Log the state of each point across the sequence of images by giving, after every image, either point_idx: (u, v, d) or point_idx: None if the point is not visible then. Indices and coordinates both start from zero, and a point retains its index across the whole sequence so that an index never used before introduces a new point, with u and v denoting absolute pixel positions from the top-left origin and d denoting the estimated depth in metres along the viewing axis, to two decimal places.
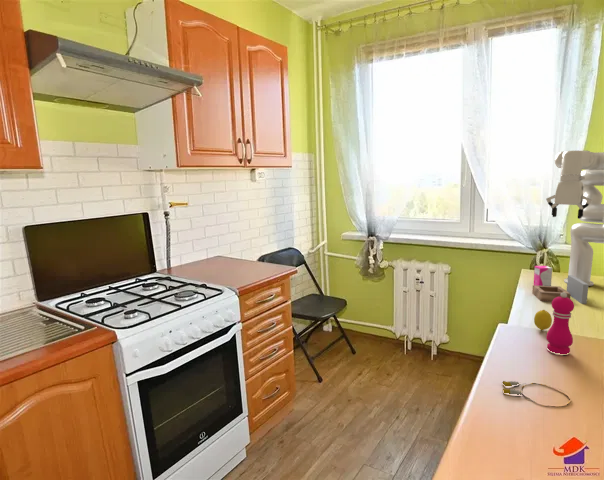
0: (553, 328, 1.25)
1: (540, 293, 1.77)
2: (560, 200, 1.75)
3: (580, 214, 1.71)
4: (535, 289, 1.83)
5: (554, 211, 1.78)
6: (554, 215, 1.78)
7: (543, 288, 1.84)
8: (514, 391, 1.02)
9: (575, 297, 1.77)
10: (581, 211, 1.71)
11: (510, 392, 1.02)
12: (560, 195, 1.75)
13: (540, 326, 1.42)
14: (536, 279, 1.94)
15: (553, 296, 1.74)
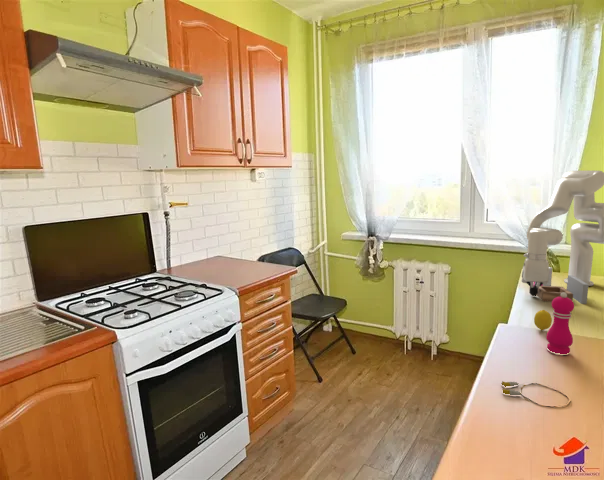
0: (553, 328, 1.25)
1: (542, 293, 1.76)
2: None
3: None
4: None
5: None
6: None
7: (545, 288, 1.84)
8: (513, 392, 1.02)
9: (575, 297, 1.77)
10: None
11: (510, 393, 1.02)
12: None
13: (540, 326, 1.42)
14: None
15: (555, 296, 1.74)
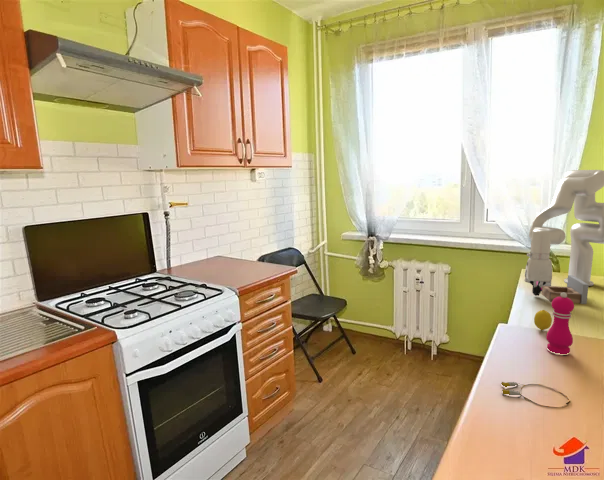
0: (553, 328, 1.25)
1: (550, 293, 1.76)
2: None
3: None
4: (545, 289, 1.82)
5: None
6: None
7: (553, 288, 1.83)
8: (513, 392, 1.02)
9: None
10: None
11: (509, 393, 1.02)
12: None
13: (540, 326, 1.42)
14: None
15: None
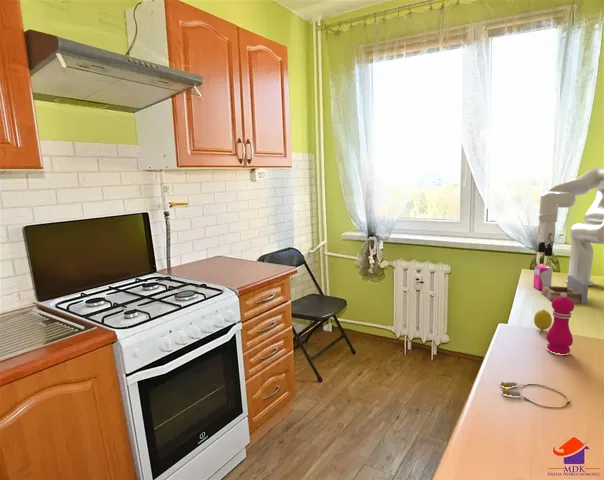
0: (553, 328, 1.25)
1: (550, 293, 1.76)
2: None
3: None
4: (545, 289, 1.82)
5: (551, 250, 1.87)
6: None
7: (553, 288, 1.83)
8: (513, 393, 1.01)
9: None
10: None
11: (509, 394, 1.01)
12: None
13: (540, 326, 1.42)
14: (536, 279, 1.94)
15: None
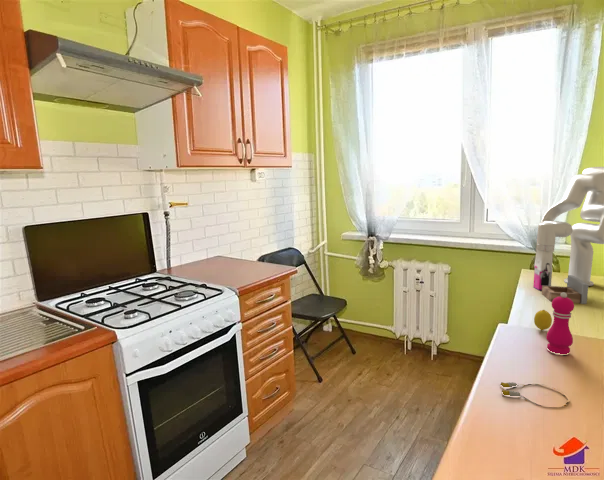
0: (553, 328, 1.25)
1: (550, 293, 1.76)
2: None
3: None
4: (545, 289, 1.82)
5: None
6: None
7: (553, 288, 1.83)
8: (513, 393, 1.01)
9: None
10: None
11: (509, 394, 1.01)
12: None
13: (540, 326, 1.42)
14: (536, 279, 1.94)
15: None
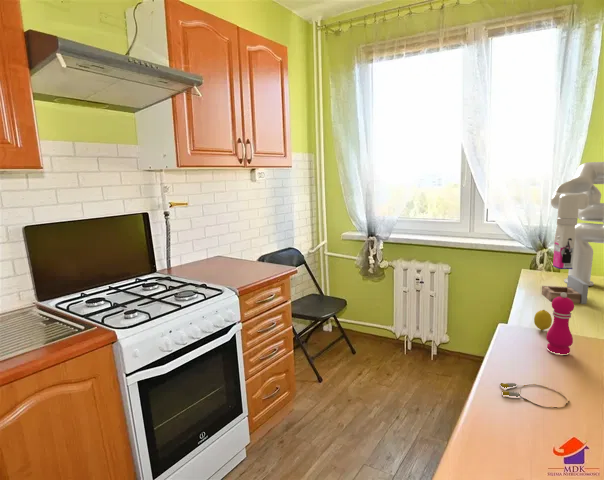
0: (553, 328, 1.25)
1: (550, 293, 1.76)
2: None
3: None
4: (545, 289, 1.82)
5: None
6: None
7: (553, 288, 1.83)
8: (513, 394, 1.01)
9: None
10: None
11: (509, 394, 1.01)
12: None
13: (540, 326, 1.42)
14: (556, 257, 1.77)
15: None
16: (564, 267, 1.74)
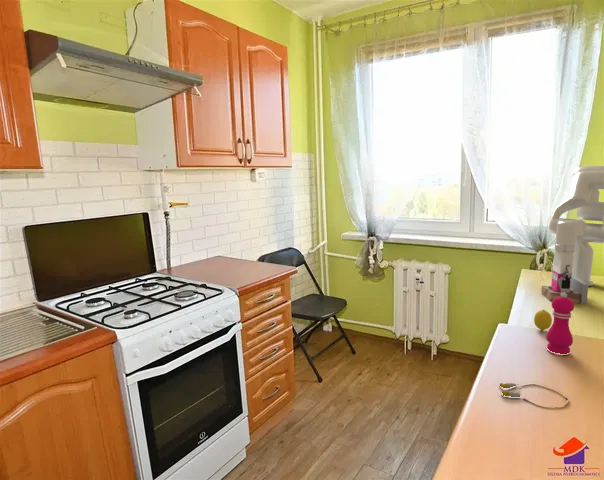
0: (553, 328, 1.25)
1: (550, 293, 1.76)
2: None
3: None
4: (544, 289, 1.82)
5: None
6: None
7: None
8: (513, 394, 1.01)
9: None
10: None
11: (509, 395, 1.01)
12: None
13: (540, 326, 1.42)
14: (554, 285, 1.79)
15: None
16: None
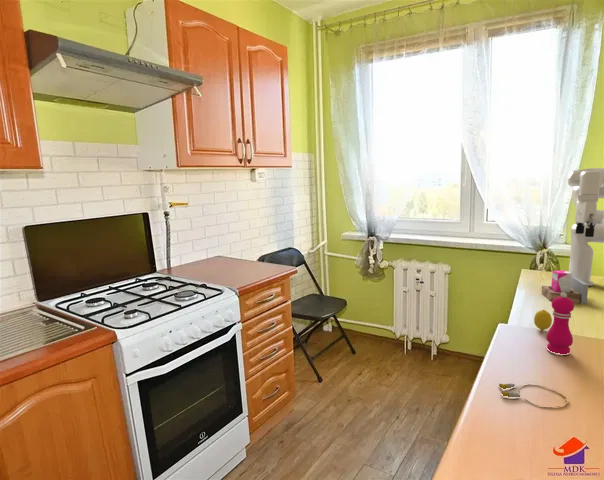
0: (553, 328, 1.25)
1: (550, 293, 1.76)
2: None
3: None
4: (545, 289, 1.82)
5: None
6: None
7: None
8: (513, 394, 1.01)
9: None
10: None
11: (509, 395, 1.01)
12: None
13: (540, 326, 1.42)
14: (554, 285, 1.79)
15: None
16: None
